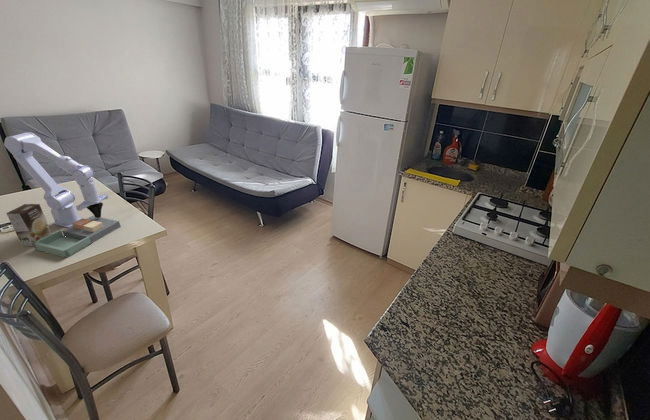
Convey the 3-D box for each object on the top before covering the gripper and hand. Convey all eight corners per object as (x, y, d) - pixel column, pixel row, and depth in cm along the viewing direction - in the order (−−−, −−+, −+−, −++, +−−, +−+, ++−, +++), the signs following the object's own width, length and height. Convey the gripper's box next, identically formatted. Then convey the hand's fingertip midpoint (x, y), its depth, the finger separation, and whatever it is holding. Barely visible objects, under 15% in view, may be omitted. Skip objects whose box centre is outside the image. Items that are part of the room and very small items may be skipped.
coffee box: (37, 246, 127) (22, 213, 119) (21, 246, 126) (5, 213, 119) (53, 234, 135) (39, 203, 128) (38, 234, 134) (23, 203, 127)
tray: (35, 249, 125) (32, 243, 123) (62, 236, 134) (59, 230, 132) (67, 257, 121) (64, 250, 120) (91, 243, 131) (89, 237, 129)
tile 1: (73, 227, 136) (71, 223, 134) (84, 222, 140) (82, 218, 139) (82, 229, 135) (80, 225, 133) (92, 224, 139) (90, 220, 138)
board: (64, 236, 134) (61, 230, 133) (94, 220, 147) (92, 215, 146) (92, 242, 131) (90, 237, 130) (120, 226, 144) (119, 221, 143)
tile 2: (84, 230, 134) (83, 225, 133) (95, 225, 139) (93, 220, 137) (93, 232, 133) (92, 227, 132) (103, 227, 138) (102, 222, 136)
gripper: (81, 199, 130) (90, 225, 137) (110, 187, 143) (117, 211, 149) (68, 197, 132) (78, 222, 138) (98, 185, 144) (106, 209, 150)
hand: (98, 217), depth 144 cm, fingers closed
